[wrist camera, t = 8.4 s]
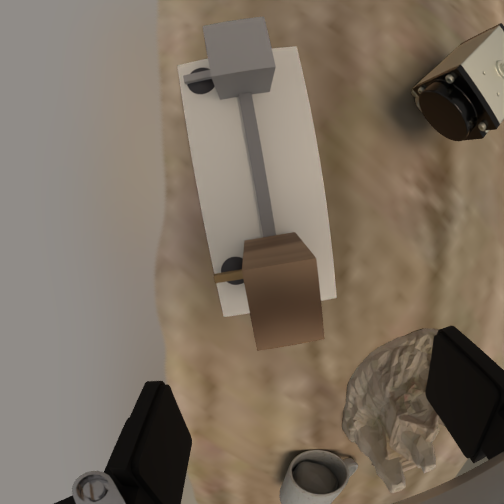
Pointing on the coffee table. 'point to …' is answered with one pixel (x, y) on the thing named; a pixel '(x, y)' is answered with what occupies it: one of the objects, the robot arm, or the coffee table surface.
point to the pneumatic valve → (466, 88)
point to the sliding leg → (280, 290)
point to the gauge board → (254, 151)
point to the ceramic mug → (316, 478)
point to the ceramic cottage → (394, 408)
